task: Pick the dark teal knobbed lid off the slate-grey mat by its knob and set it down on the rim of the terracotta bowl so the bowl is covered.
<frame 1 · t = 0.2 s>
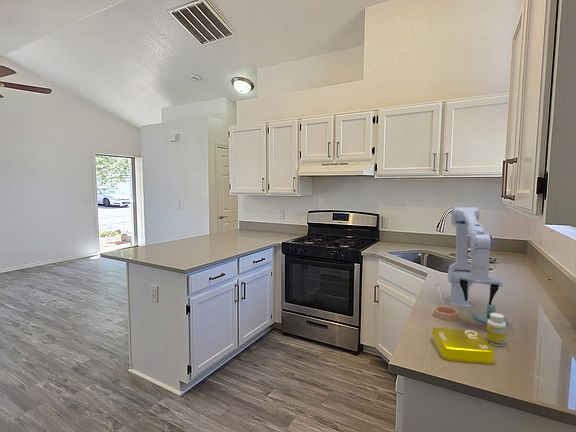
hand: (477, 302, 119), 10 cm above the counter, fingers open, 7 cm apart
mat: (490, 321, 126), on the counter
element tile: (460, 351, 104), on the counter
bowl: (445, 317, 130), on the counter
supplement bottle: (495, 343, 109), on the counter
lid: (490, 320, 126), point 1 cm above the counter, touching mat
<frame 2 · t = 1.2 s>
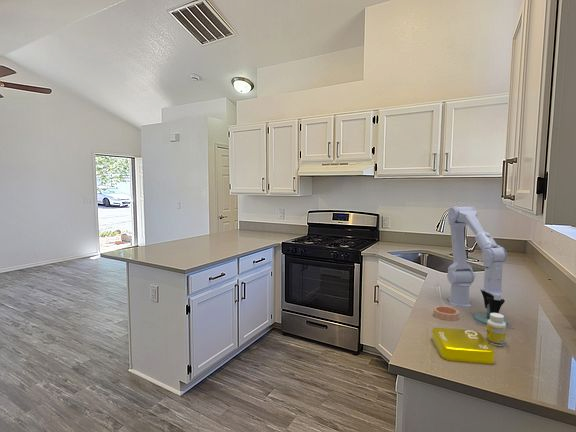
hand: (491, 312, 125), 4 cm above the counter, fingers open, 7 cm apart
nothing on the counter moved.
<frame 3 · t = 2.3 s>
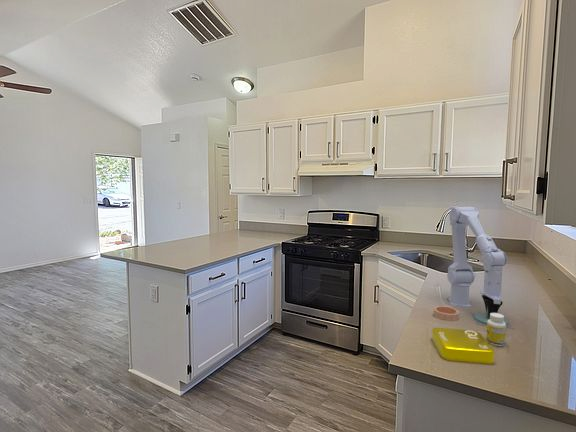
hand: (490, 315, 125), 2 cm above the counter, fingers closed on lid, 3 cm apart
lid: (490, 320, 126), point 1 cm above the counter, touching gripper, mat
everything else where it was.
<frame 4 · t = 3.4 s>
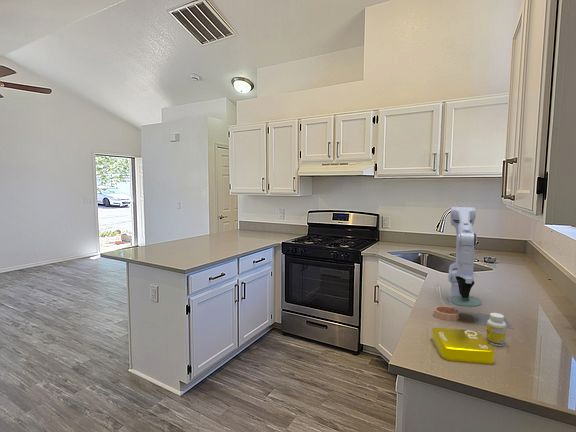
hand: (463, 296, 127), 9 cm above the counter, fingers closed on lid, 3 cm apart
lid: (465, 302, 127), point 7 cm above the counter, touching gripper
everything else where it was.
when the fingers open (6 cm above the counter, at t = 4.6 s): lid stays where it is, resting on bowl.
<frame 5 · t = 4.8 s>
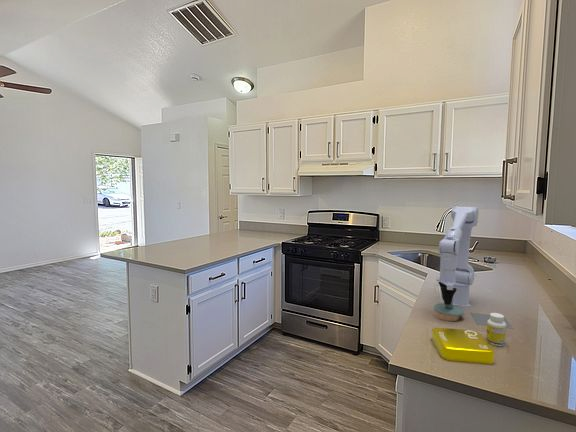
hand: (446, 302, 129), 6 cm above the counter, fingers open, 4 cm apart
lid: (448, 310, 129), point 3 cm above the counter, touching bowl
everything else where it was.
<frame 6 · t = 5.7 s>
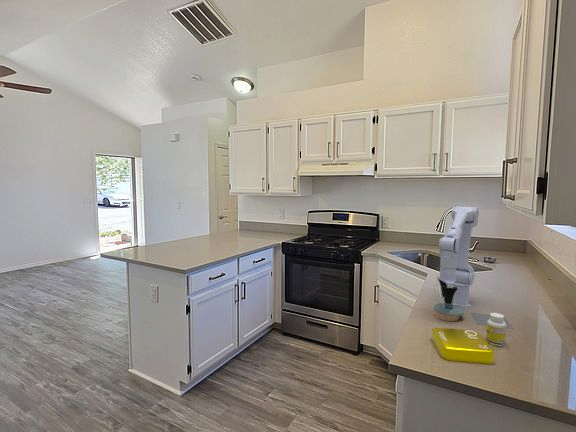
hand: (446, 300, 129), 7 cm above the counter, fingers open, 7 cm apart
nothing on the counter moved.
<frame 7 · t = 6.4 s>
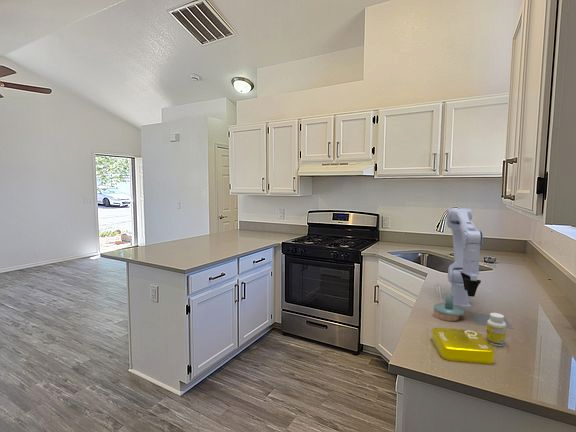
hand: (469, 293, 130), 10 cm above the counter, fingers open, 7 cm apart
nothing on the counter moved.
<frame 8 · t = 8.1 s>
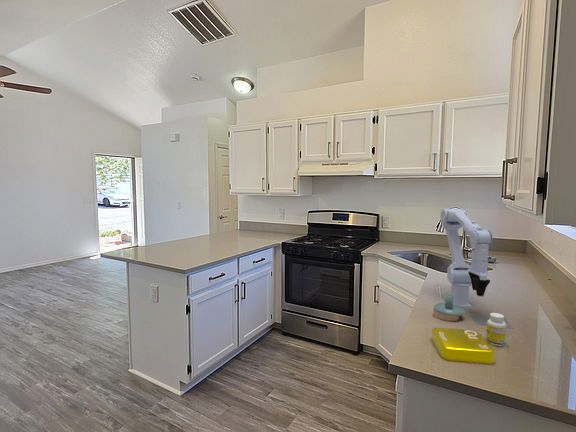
hand: (477, 292, 130), 10 cm above the counter, fingers open, 7 cm apart
nothing on the counter moved.
at the end: lid 1.0 cm off-centre on the bowl, point 3.0 cm above the bowl's base; lid tilted 0°; the gripper is holding nothing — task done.
